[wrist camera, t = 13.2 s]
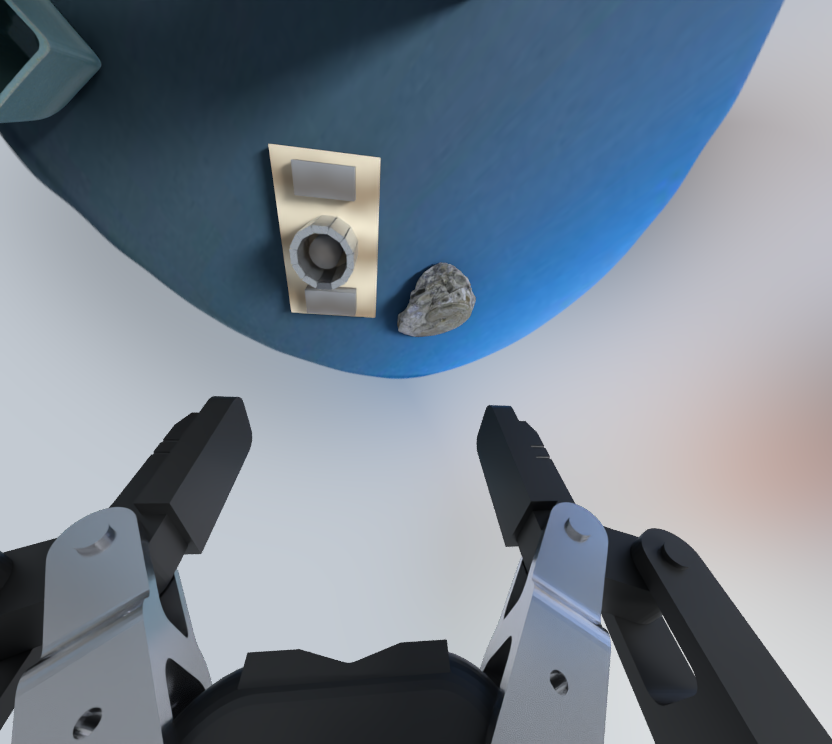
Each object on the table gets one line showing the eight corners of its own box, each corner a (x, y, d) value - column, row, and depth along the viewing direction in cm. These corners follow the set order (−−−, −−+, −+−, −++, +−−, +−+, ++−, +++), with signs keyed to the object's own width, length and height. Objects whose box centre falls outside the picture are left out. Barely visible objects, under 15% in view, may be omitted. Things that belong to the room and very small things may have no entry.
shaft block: (274, 144, 32) (253, 142, 27) (380, 157, 33) (379, 158, 28) (295, 306, 42) (283, 326, 37) (375, 311, 43) (374, 331, 39)
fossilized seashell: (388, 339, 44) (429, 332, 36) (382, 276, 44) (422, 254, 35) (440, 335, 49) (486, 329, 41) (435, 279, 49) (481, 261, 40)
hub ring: (300, 212, 34) (285, 222, 29) (358, 218, 35) (353, 229, 30) (306, 269, 38) (293, 287, 33) (358, 274, 38) (354, 291, 33)
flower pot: (25, -65, 24) (-137, -162, 16) (138, 73, 28) (51, 45, 21) (-33, 18, 26) (-200, -35, 18) (81, 134, 30) (-16, 127, 23)
